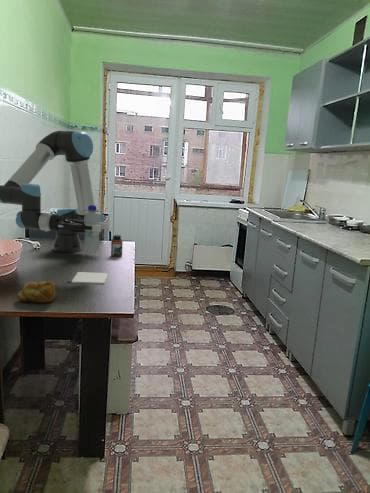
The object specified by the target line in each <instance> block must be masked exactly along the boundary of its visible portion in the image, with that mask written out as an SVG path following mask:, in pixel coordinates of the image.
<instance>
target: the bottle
mask: <svg viewBox="0 0 370 493" xmlns="http://www.w3.org/2000/svg"><path fill="white" fill-rule="evenodd" d="M96 207H97V206H96V205H95V204H94V205H89V206H88V210H89V211H87V212H85V217H84V224H92V225H100V214H99V213H100V212H99V211H98V212H99V213H98V212H97V211H96ZM83 240H84V241H83V248H84V251H85V252H86V253H89V254H90V253H92V254H94V253H98V252H99V250H100V233H99V232H94V231H85V233H84V239H83Z"/></svg>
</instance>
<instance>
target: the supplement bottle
mask: <svg viewBox="0 0 370 493" xmlns="http://www.w3.org/2000/svg"><path fill="white" fill-rule="evenodd" d="M110 246H111V248H110V256H111V257H115V258H119V257H122V256H123V239H122V236H121V234H113V237H112V239H111V242H110Z"/></svg>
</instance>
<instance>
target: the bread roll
mask: <svg viewBox="0 0 370 493" xmlns="http://www.w3.org/2000/svg"><path fill="white" fill-rule="evenodd" d="M16 296H17V299H18V300H19V301H20V302H24V303H34V304H47V303H51V302H52V301H53V300H54V299H55V297H56V286H55V284H54V283H53V281H43V280H42V281H39V282H34V281H28V282H27V283H25V285H23V288H22V290H20V291H18V293H17V295H16Z"/></svg>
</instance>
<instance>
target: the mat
mask: <svg viewBox="0 0 370 493" xmlns="http://www.w3.org/2000/svg"><path fill="white" fill-rule="evenodd" d="M108 276H109V272H87V271H86V272H85V271H74V272H73V273H72V274H71V276H70V277H69V279H68V280H67V283H68V284H95V285H105V284H106V281H107V280H108V279H107V278H108Z"/></svg>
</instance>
